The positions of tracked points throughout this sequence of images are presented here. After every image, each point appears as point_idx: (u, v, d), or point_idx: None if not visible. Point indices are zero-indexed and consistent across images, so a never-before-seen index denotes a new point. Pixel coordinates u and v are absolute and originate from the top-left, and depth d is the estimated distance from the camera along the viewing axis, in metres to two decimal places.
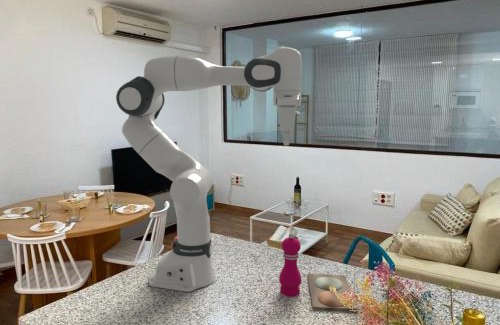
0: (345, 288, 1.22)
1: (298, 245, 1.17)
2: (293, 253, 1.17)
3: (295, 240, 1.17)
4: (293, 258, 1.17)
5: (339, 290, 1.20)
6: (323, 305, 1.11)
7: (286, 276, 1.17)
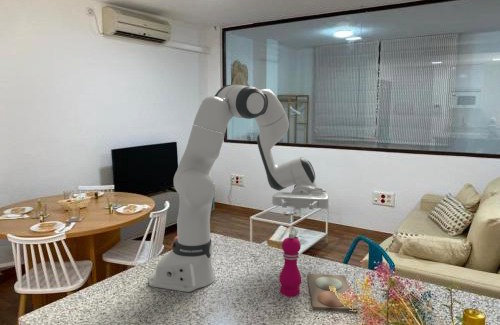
0: (345, 288, 1.22)
1: (298, 245, 1.17)
2: (293, 253, 1.17)
3: (295, 240, 1.17)
4: (293, 258, 1.17)
5: (339, 290, 1.20)
6: (323, 305, 1.11)
7: (286, 276, 1.17)
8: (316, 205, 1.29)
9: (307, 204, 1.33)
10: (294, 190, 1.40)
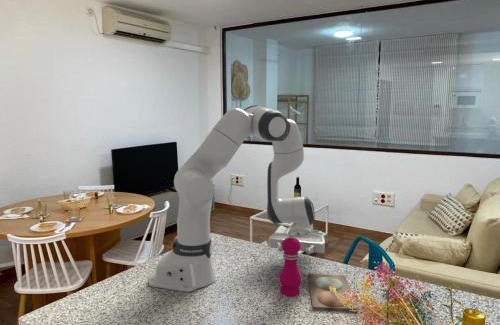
0: (345, 288, 1.22)
1: (298, 245, 1.17)
2: (293, 253, 1.17)
3: (295, 240, 1.17)
4: (293, 258, 1.17)
5: (339, 290, 1.20)
6: (323, 305, 1.11)
7: (286, 276, 1.17)
8: (313, 250, 1.29)
9: (303, 247, 1.32)
10: (290, 231, 1.39)
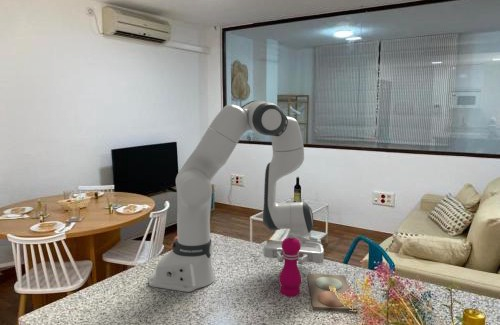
0: (345, 288, 1.22)
1: (298, 245, 1.17)
2: (293, 253, 1.17)
3: (295, 240, 1.17)
4: (293, 258, 1.17)
5: (339, 290, 1.20)
6: (323, 305, 1.11)
7: (286, 276, 1.17)
8: (306, 259, 1.20)
9: None
10: None
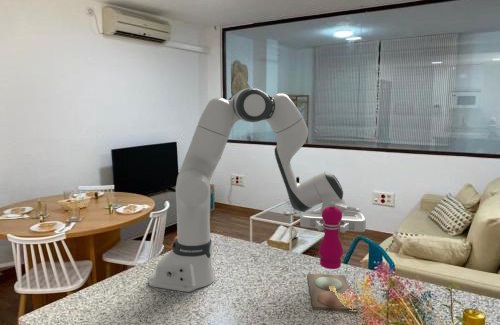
0: (345, 288, 1.22)
1: (340, 214, 1.10)
2: (335, 222, 1.10)
3: (337, 209, 1.10)
4: (335, 228, 1.10)
5: (339, 290, 1.20)
6: (323, 305, 1.11)
7: (327, 247, 1.11)
8: (347, 228, 1.13)
9: None
10: None
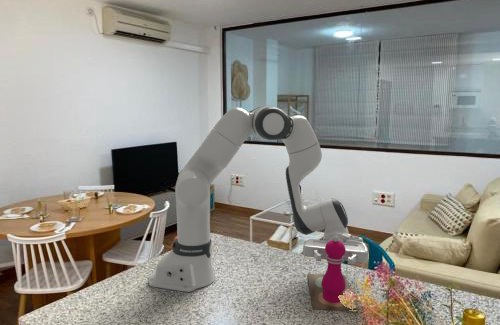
0: (345, 288, 1.22)
1: (343, 249, 1.10)
2: (338, 257, 1.10)
3: (340, 243, 1.11)
4: (338, 262, 1.11)
5: None
6: (323, 305, 1.11)
7: (330, 281, 1.11)
8: (355, 259, 1.13)
9: (343, 256, 1.17)
10: (326, 237, 1.24)
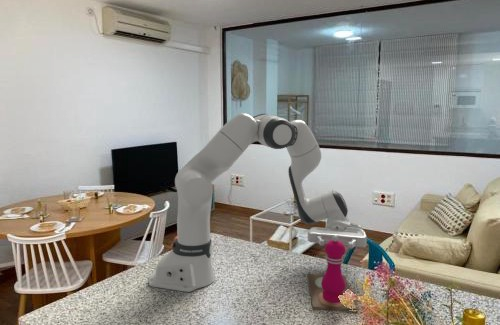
0: (345, 288, 1.22)
1: (343, 248, 1.11)
2: (338, 257, 1.11)
3: (340, 243, 1.11)
4: (338, 262, 1.11)
5: None
6: (323, 305, 1.11)
7: (329, 281, 1.11)
8: (355, 244, 1.26)
9: (344, 242, 1.29)
10: (329, 225, 1.36)
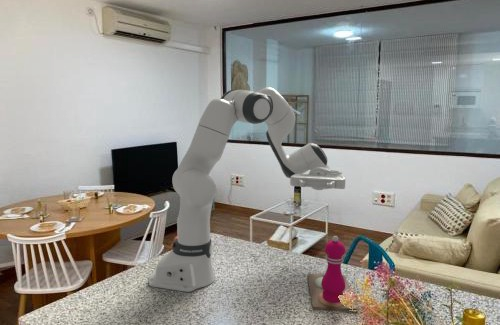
0: (345, 288, 1.22)
1: (343, 248, 1.11)
2: (338, 257, 1.11)
3: (340, 243, 1.11)
4: (338, 262, 1.11)
5: None
6: (323, 305, 1.11)
7: (329, 281, 1.11)
8: (334, 185, 1.34)
9: (324, 184, 1.37)
10: (311, 172, 1.44)
